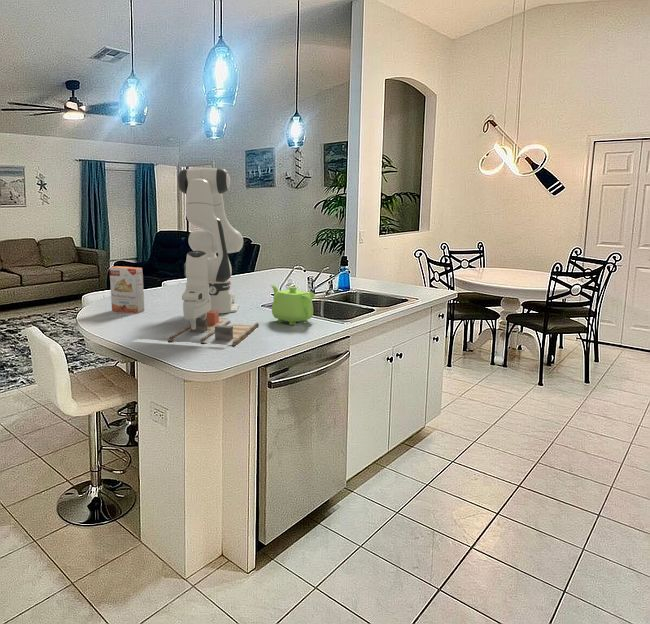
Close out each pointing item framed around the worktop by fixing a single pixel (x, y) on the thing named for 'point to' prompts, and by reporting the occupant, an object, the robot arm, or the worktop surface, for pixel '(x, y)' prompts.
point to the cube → (212, 317)
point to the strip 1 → (205, 325)
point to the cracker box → (127, 289)
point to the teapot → (292, 305)
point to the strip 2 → (229, 332)
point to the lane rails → (214, 333)
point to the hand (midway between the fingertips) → (198, 326)
